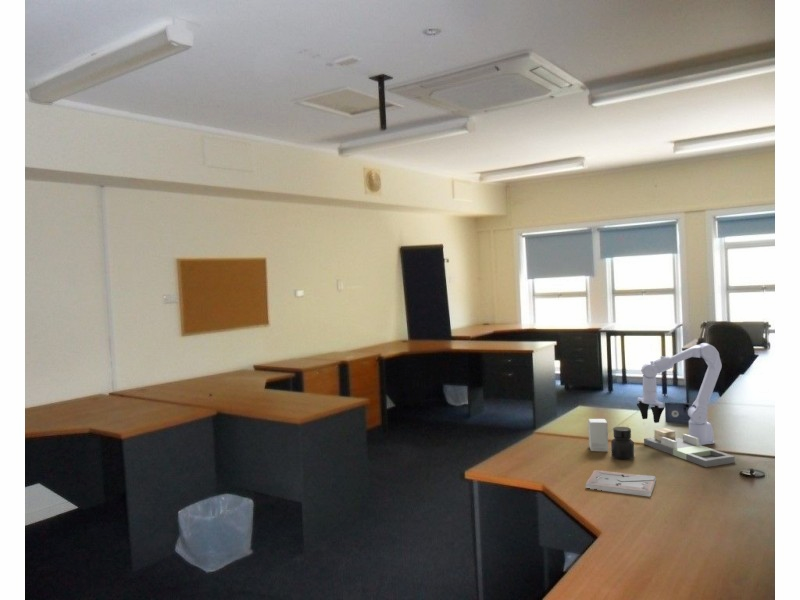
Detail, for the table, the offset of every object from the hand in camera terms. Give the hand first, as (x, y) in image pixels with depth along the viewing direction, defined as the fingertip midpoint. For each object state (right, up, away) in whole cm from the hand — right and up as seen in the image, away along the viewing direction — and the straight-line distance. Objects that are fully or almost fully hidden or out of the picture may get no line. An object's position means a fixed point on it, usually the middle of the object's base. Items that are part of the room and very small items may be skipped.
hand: (650, 420), depth 271 cm
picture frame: (-33, -14, -52) cm, 63 cm away
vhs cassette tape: (+30, -7, +30) cm, 43 cm away
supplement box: (-26, -11, -8) cm, 29 cm away
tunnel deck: (+8, -10, -19) cm, 22 cm away
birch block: (+4, -7, -6) cm, 10 cm away
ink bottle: (-20, -11, -20) cm, 31 cm away
